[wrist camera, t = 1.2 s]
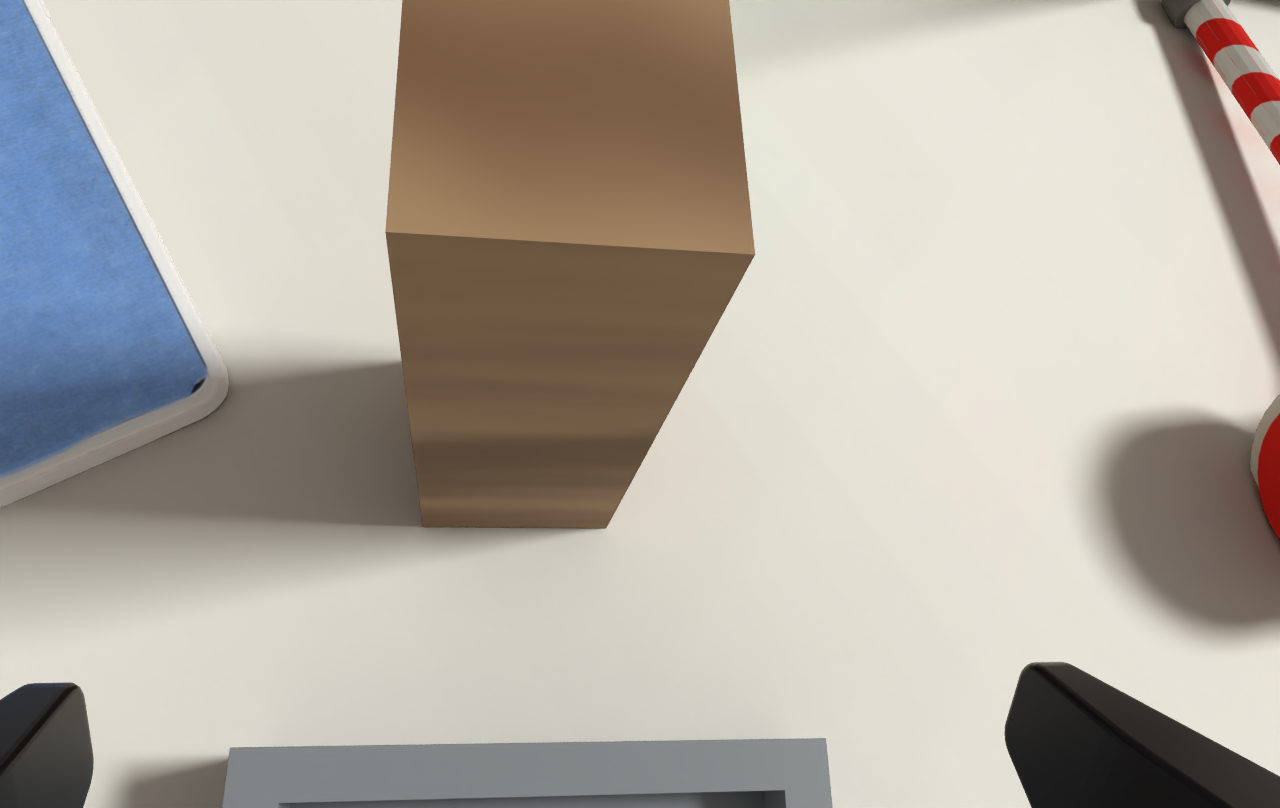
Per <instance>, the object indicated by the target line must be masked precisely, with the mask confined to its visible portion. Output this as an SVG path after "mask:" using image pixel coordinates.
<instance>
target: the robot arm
mask: <svg viewBox="0 0 1280 808" xmlns="http://www.w3.org/2000/svg"><path fill="white" fill-rule="evenodd" d="M1005 742H1006V746H1007V749H1008V752H1009V755H1010V757H1011V760H1012V762H1013V764H1014V767H1015V769H1016V771H1017V774H1018V776H1019V779H1020V781H1021V783H1022V786H1023V788H1024V790H1025V793H1026V795H1027V798H1028V800H1029V802H1030V805H1031V807H1032V808H1280V776H1278V775H1276V774H1274V773H1272V772H1270V771H1268V770H1267V769H1265V768H1263V767H1261V766H1259V765H1257V764H1255V763H1254V762H1252V761H1250V760H1248V759H1246V758H1244V757H1242V756H1241V755H1239V754H1237V753H1235V752H1233V751H1231V750H1229V749H1227V748H1226V747H1224V746H1222V745H1220V744H1218V743H1216V742H1214V741H1213V740H1211V739H1209V738H1207V737H1205V736H1203V735H1201V734H1200V733H1198V732H1196V731H1194V730H1192V729H1190V728H1188V727H1186V726H1185V725H1183V724H1181V723H1179V722H1177V721H1175V720H1173V719H1172V718H1170V717H1168V716H1166V715H1164V714H1162V713H1160V712H1159V711H1157V710H1155V709H1153V708H1151V707H1149V706H1147V705H1145V704H1144V703H1142V702H1140V701H1138V700H1136V699H1134V698H1132V697H1131V696H1129V695H1127V694H1125V693H1123V692H1121V691H1119V690H1118V689H1116V688H1114V687H1112V686H1110V685H1108V684H1106V683H1104V682H1103V681H1101V680H1099V679H1097V678H1095V677H1093V676H1091V675H1090V674H1088V673H1086V672H1084V671H1082V670H1080V669H1078V668H1077V667H1075V666H1073V665H1071V664H1068V663H1064V662H1034V663H1031V664H1028V665H1027V666H1026V667H1025V668H1024V669H1023V670H1022V672H1021V674H1020V677H1019V680H1018V684H1017V687H1016V690H1015V694H1014V697H1013V700H1012V704H1011V707H1010V710H1009V714H1008V717H1007V720H1006V724H1005ZM92 774H93V750H92V744H91V737H90V731H89V724H88V718H87V711H86V705H85V699H84V695H83V692H82V690H81V688H80V687H79V686H77V685H76V684H74V683H33V684H27V685H24V686H22V687H20V688H18V689H16V690H15V691H13V692H12V693H10V694H9V695H7V696H6V697H4V698H2V699H1V700H0V808H83V806H84V803H85V800H86V797H87V793H88V790H89V787H90V784H91V779H92Z"/></svg>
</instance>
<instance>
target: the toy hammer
mask: <svg viewBox="0 0 1280 808" xmlns="http://www.w3.org/2000/svg"><path fill="white" fill-rule="evenodd" d="M1229 3H1230V0H1162V6H1163V8H1164V10H1165V11H1166V13H1167V15H1168V17H1169V18H1170V20H1171V21H1172V23H1173V24H1174V26H1175V27H1176V28H1189V30H1190V31H1191V33H1192V34H1193V36H1194V37H1195V39H1196V40H1197V42H1198V43H1199V45H1200V46H1201V48H1202V49H1203V51H1204V52H1205V54H1206V55H1207V57H1208V58H1209V60H1210V61H1211V63H1212V64H1213V66H1214V67H1215V69H1216V70H1217V72H1218V73H1219V75H1220V76H1221V78H1222V79H1223V81H1224V82H1225V83H1226V85H1227V86H1228V88H1229V89H1230V91H1231V92H1232V94H1233V95H1234V97H1235V98H1236V100H1237V101H1238V103H1239V104H1240V106H1241V107H1242V109H1243V110H1244V112H1245V113H1246V115H1247V116H1248V118H1249V119H1250V121H1251V122H1252V124H1253V125H1254V127H1255V128H1256V130H1257V131H1258V133H1259V134H1260V136H1261V137H1262V139H1263V140H1264V142H1265V143H1266V145H1267V146H1268V148H1269V149H1270V151H1271V152H1272V154H1273V155H1274V157H1275V158H1276V160H1277V161H1278V163H1279V164H1280V80H1279V79H1278V77H1277V76H1276V75H1275V73H1274V72H1273V70H1272V69H1271V68H1270V66H1269V65H1268V63H1267V62H1266V61H1265V59H1264V58H1263V56H1262V55H1261V53H1260V52H1259V51H1258V49H1257V48H1256V46H1255V45H1254V44H1253V42H1252V41H1251V39H1250V38H1249V36H1248V35H1247V34H1246V32H1245V31H1244V29H1243V28H1242V27H1241V25H1240V24H1239V22H1238V21H1237V20H1236V18H1235V17H1234V15H1233V14H1232V13H1231V11H1230V10H1229V8H1228V7H1227V6H1228V5H1229ZM1250 470H1251V472H1252V474H1253V476H1254V479H1255V481H1256V483H1257V486H1258V488H1259V493H1260V497H1261V501H1262V505H1263V508H1264V511H1265V513H1266V515H1267V518H1268V520H1269V522H1270V525H1271V527H1272V528H1273V530H1274V531H1275V533H1276V535H1277V536H1278V538H1279V539H1280V395H1278V396H1277V398H1276V399H1275V400H1274V401H1273V403H1272V404H1271V405H1270V407H1269V408H1268V409H1267V410H1266V412H1265V414H1264V416H1263V418H1262V420H1261V422H1260V424H1259V426H1258V428H1257V430H1256V434H1255V437H1254V441H1253V445H1252V449H1251V460H1250Z"/></svg>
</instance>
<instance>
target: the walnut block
mask: <svg viewBox="0 0 1280 808" xmlns="http://www.w3.org/2000/svg"><path fill="white" fill-rule="evenodd" d="M386 239H387V247H388V255H389V263H390V271H391V279H392V287H393V295H394V303H395V311H396V319H397V327H398V335H399V343H400V351H401V359H402V367H403V374H404V382H405V390H406V398H407V406H408V414H409V422H410V430H411V438H412V446H413V454H414V462H415V470H416V478H417V486H418V494H419V502H420V510H421V518H422V526H423V527H506V528H607V526H608V524H609V522H610V520H611V518H612V517H613V515H614V513H615V511H616V509H617V507H618V506H619V504H620V502H621V500H622V498H623V496H624V494H625V493H626V491H627V489H628V487H629V485H630V483H631V482H632V480H633V478H634V476H635V474H636V472H637V471H638V469H639V467H640V465H641V463H642V461H643V460H644V458H645V456H646V454H647V452H648V450H649V449H650V447H651V445H652V443H653V441H654V439H655V437H656V436H657V434H658V432H659V430H660V428H661V426H662V425H663V423H664V421H665V419H666V417H667V415H668V414H669V412H670V410H671V408H672V406H673V404H674V403H675V401H676V399H677V397H678V395H679V393H680V392H681V390H682V388H683V386H684V384H685V382H686V380H687V379H688V377H689V375H690V373H691V371H692V369H693V368H694V366H695V364H696V362H697V360H698V358H699V357H700V355H701V353H702V351H703V349H704V347H705V346H706V344H707V342H708V340H709V338H710V336H711V335H712V333H713V331H714V329H715V327H716V325H717V323H718V322H719V320H720V318H721V316H722V314H723V312H724V311H725V309H726V307H727V305H728V303H729V301H730V300H731V298H732V296H733V294H734V292H735V290H736V289H737V287H738V285H739V283H740V281H741V279H742V278H743V276H744V274H745V272H746V270H747V268H748V266H749V265H750V263H751V261H752V259H753V257H754V255H755V250H754V240H753V230H752V220H751V211H750V201H749V191H748V181H747V172H746V162H745V152H744V142H743V133H742V123H741V113H740V103H739V94H738V84H737V74H736V64H735V55H734V45H733V35H732V25H731V16H730V6H729V0H403V2H402V16H401V29H400V43H399V57H398V70H397V84H396V97H395V111H394V125H393V138H392V152H391V165H390V179H389V193H388V206H387V220H386Z"/></svg>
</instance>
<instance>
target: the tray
mask: <svg viewBox="0 0 1280 808" xmlns="http://www.w3.org/2000/svg"><path fill="white" fill-rule="evenodd" d="M222 808H832V798H831V787H830V777H829V766H828V756H827V745H826V738H814V739H750V740H686V741H622V742H559V743H495V744H431V745H367V746H304V747H240V748H230V752H229V759H228V767H227V774H226V781H225V789H224V796H223V803H222Z"/></svg>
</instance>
